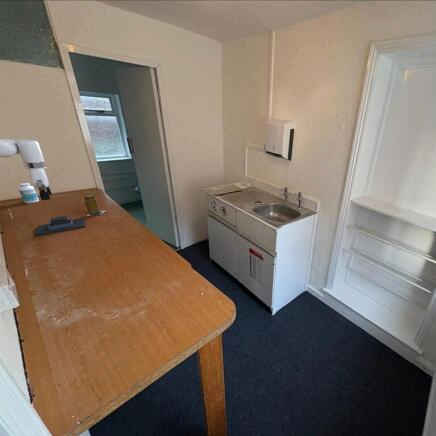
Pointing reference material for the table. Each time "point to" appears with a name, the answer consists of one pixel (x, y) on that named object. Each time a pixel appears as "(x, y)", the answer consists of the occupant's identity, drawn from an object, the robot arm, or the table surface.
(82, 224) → the base pad
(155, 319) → the table surface
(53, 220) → the dark grey block
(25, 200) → the pill bottle
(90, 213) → the condiment
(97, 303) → the table surface
